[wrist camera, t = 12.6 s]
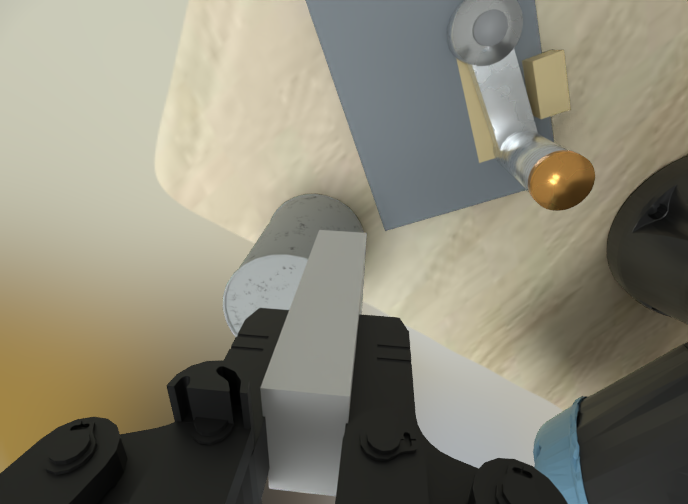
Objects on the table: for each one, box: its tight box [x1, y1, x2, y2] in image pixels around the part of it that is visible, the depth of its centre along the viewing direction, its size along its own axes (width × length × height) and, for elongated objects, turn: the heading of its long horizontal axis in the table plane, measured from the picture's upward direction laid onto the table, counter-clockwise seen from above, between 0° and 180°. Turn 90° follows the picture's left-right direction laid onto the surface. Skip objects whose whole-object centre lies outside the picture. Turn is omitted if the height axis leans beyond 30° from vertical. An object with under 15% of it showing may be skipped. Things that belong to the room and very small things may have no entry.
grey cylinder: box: [223, 194, 364, 337], centre depth 33 cm, size 10×10×12 cm
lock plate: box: [306, 0, 571, 231], centre depth 28 cm, size 24×16×5 cm, turn 20°
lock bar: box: [447, 0, 595, 211], centre depth 25 cm, size 13×4×10 cm, turn 26°
